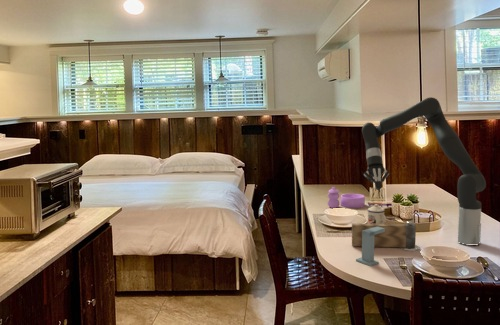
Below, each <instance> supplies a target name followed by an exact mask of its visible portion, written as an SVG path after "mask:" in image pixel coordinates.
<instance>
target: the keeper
mask: <svg viewBox="0 0 500 325" xmlns="http://www.w3.org/2000/svg"><path fill="white" fill-rule="evenodd" d="M383 232H385V228H381V227H378V226H377V227H374V228H370V229H366V230H363V231H362V246H361V257H358V258H356V259H355V262H357V263H360V264H363V265H366V266H369V267H373V266H375V265H378V264H379V263H380V262H379V261H378V260H375V247H374V235H376V234H379V233H383Z"/></svg>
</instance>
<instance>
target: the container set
mask: <svg viewBox="0 0 500 325" xmlns="http://www.w3.org/2000/svg"><path fill="white" fill-rule="evenodd" d="M339 193H340V191H339V189H336V186H331V189H328V193H327V198H328V201H327V205H328V206H327V207H329V208H330V207H331V208H332V209H336V207H337V208H338V207H339V206H340V207H343V208H349V209H359V208H364V207H365V203H366V202H365V201H366V196H365V195H364V194H360V193H343V194H341V195H340V194H339ZM339 198H340V201H339ZM331 208H330V209H331Z"/></svg>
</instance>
